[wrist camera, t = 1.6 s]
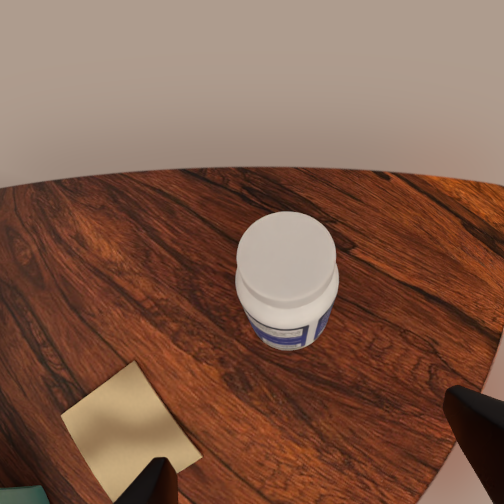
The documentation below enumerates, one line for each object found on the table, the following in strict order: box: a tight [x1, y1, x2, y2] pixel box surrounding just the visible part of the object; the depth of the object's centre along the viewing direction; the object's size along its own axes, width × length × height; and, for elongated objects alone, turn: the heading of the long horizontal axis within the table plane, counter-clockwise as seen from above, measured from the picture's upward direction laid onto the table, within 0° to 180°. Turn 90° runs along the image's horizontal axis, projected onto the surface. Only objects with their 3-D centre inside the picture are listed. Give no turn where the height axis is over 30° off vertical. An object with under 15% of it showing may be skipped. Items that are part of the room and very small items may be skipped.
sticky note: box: [61, 361, 203, 503], centre depth 20 cm, size 9×9×1 cm
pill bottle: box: [235, 212, 339, 350], centre depth 19 cm, size 6×6×10 cm
